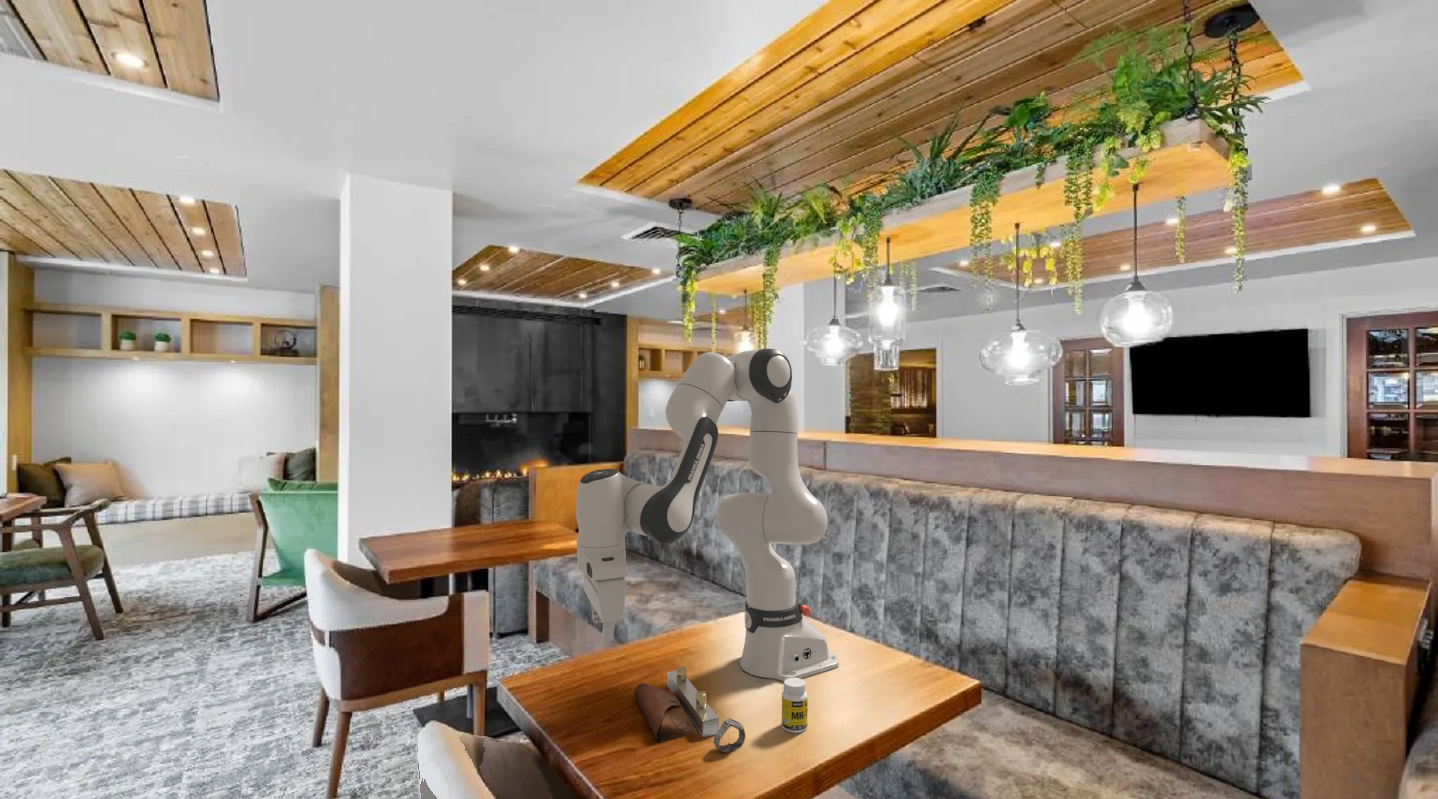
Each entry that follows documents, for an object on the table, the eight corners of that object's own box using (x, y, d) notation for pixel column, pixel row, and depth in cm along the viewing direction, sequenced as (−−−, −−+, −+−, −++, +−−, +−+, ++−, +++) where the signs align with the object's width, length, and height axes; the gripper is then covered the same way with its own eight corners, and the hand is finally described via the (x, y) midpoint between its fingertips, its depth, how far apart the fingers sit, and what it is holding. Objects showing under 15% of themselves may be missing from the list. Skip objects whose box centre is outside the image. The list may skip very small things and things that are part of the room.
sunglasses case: (702, 734, 118) (683, 705, 116) (670, 760, 115) (651, 732, 114) (673, 691, 134) (657, 666, 133) (645, 713, 132) (628, 688, 131)
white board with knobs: (680, 683, 138) (680, 658, 138) (718, 734, 118) (718, 704, 117) (667, 686, 137) (667, 660, 137) (703, 737, 116) (703, 707, 116)
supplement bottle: (791, 736, 117) (791, 690, 117) (776, 724, 121) (776, 679, 121) (812, 729, 119) (812, 684, 119) (797, 718, 123) (797, 674, 123)
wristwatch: (749, 746, 113) (748, 718, 113) (721, 759, 110) (721, 729, 110) (736, 738, 116) (736, 710, 116) (708, 750, 112) (708, 721, 112)
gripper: (575, 546, 129) (576, 614, 129) (594, 574, 110) (596, 654, 110) (606, 542, 131) (608, 610, 132) (631, 569, 112) (632, 648, 113)
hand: (602, 630), depth 121 cm, fingers open, 8 cm apart
